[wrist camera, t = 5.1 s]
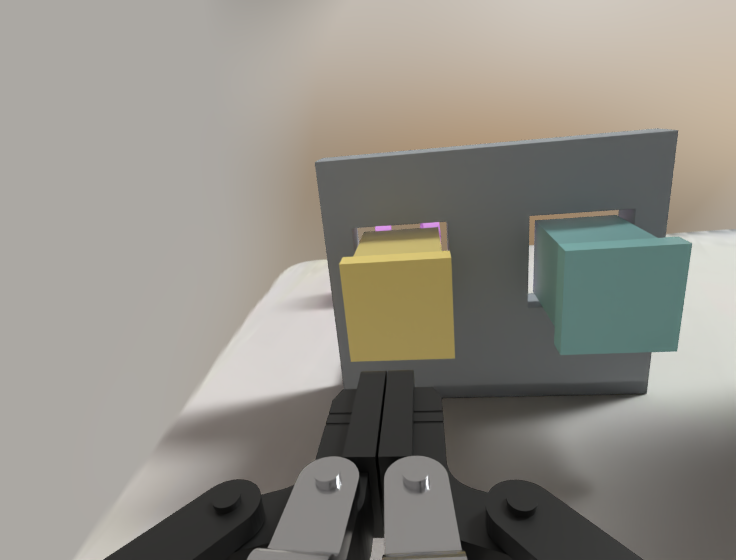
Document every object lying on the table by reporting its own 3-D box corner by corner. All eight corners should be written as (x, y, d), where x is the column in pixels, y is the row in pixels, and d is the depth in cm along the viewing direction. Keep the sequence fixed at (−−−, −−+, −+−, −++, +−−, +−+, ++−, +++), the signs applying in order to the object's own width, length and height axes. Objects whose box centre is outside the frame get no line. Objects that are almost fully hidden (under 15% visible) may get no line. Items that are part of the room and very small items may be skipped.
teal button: (615, 292, 25) (622, 208, 24) (676, 351, 19) (692, 243, 18) (527, 297, 26) (529, 215, 25) (560, 355, 20) (565, 251, 18)
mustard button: (446, 300, 27) (443, 221, 25) (454, 358, 21) (451, 257, 19) (366, 304, 27) (358, 227, 26) (350, 361, 21) (339, 264, 20)
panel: (612, 349, 31) (632, 126, 26) (646, 393, 26) (678, 130, 22) (355, 358, 33) (332, 153, 28) (345, 399, 28) (314, 162, 24)
